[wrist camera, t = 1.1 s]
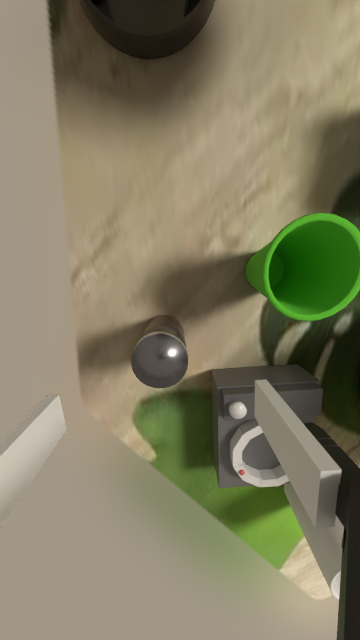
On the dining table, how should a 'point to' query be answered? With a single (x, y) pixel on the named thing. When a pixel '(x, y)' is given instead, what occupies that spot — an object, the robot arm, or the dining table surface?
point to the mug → (320, 542)
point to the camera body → (255, 421)
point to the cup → (309, 267)
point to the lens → (161, 353)
